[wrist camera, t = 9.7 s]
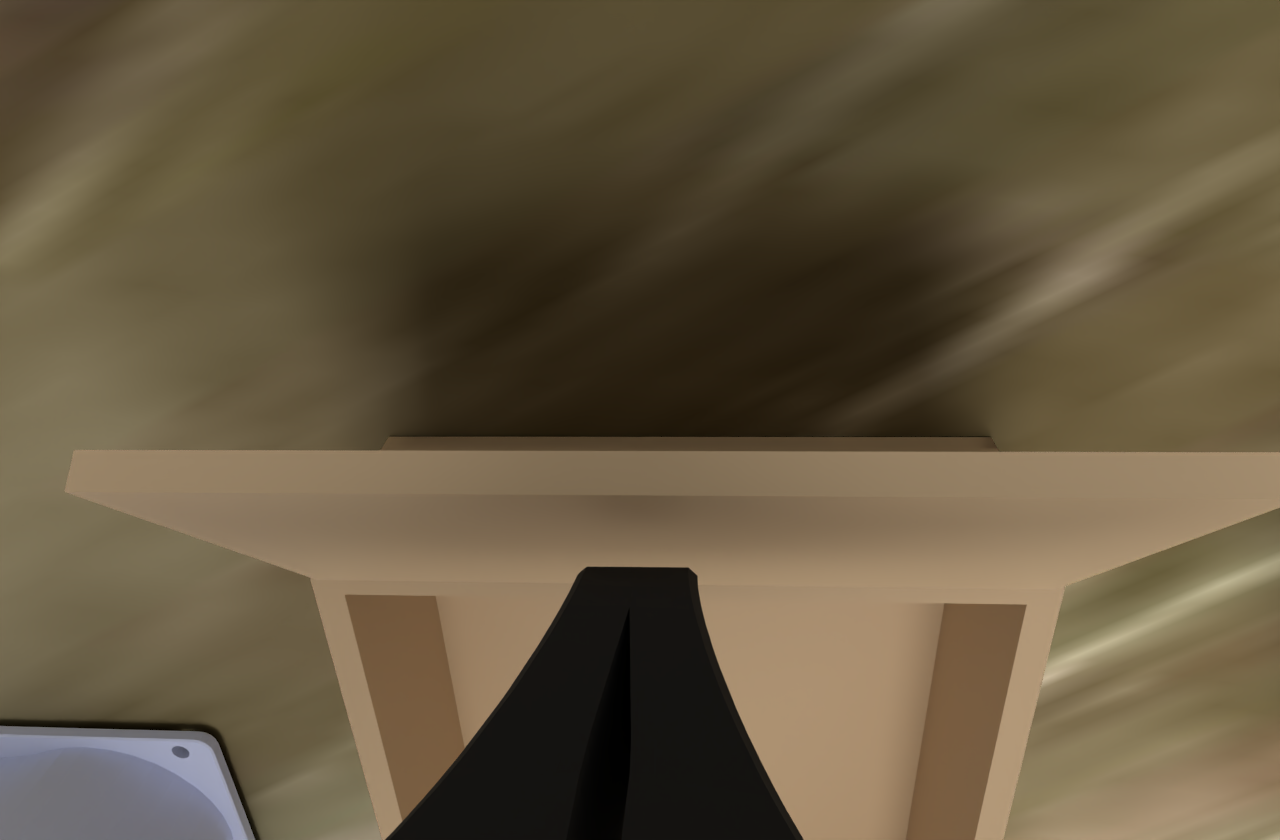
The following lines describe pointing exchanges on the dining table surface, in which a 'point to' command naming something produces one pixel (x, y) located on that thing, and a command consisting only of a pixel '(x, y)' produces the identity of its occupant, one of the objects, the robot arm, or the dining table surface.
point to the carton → (730, 673)
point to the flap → (689, 511)
